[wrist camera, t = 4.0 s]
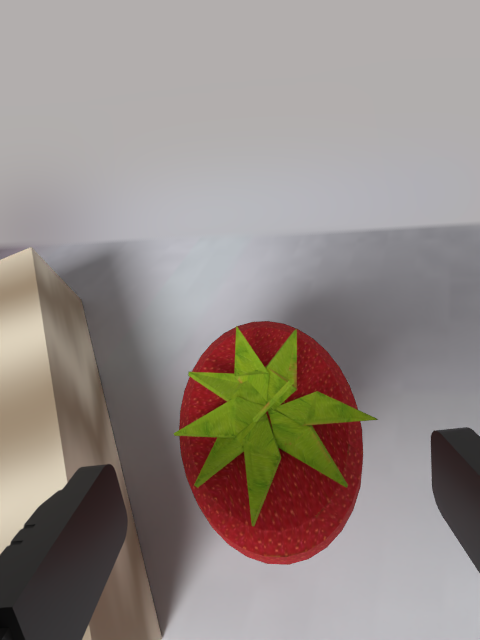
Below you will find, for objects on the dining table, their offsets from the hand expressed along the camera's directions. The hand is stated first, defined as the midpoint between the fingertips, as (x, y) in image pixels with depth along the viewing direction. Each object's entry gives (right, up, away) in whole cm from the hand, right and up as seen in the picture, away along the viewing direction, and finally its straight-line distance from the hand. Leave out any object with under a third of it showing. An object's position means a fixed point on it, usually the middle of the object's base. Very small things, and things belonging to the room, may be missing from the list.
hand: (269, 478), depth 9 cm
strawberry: (+1, -2, +8) cm, 8 cm away
